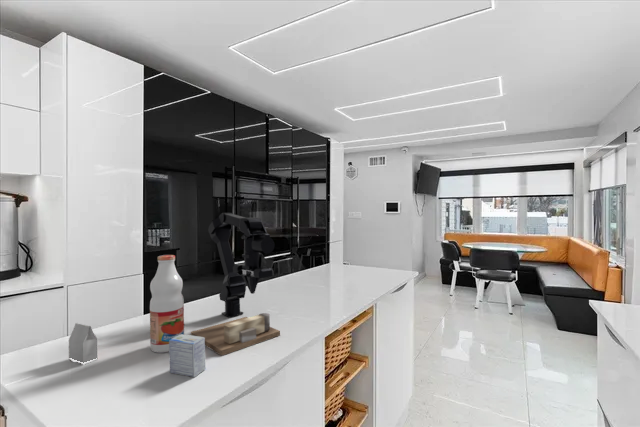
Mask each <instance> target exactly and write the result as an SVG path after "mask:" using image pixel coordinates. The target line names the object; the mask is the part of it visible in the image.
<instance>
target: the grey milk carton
mask: <svg viewBox="0 0 640 427" xmlns="http://www.w3.org/2000/svg"><path fill="white" fill-rule="evenodd" d="M69 358H72V359H74V360H77V361H80V362H83V363H84V362H87V361H90V360H93V359H96V358H97V359H98V338H97V336H96V335H95V332H94V331H93V329H92V327H91V325H86V324H83V323H78V322H75V324H74V327H73V330H72V332H71V334H70V336H69V338H68V359H69Z"/></svg>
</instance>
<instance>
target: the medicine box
mask: <svg viewBox="0 0 640 427" xmlns="http://www.w3.org/2000/svg"><path fill="white" fill-rule="evenodd" d="M168 354H169V373H170V374H176V375H180V376H187V377H192V378H196V377H197V376H198V375H200V374H201V373H202V372H204V371H205V370H206V346H205V338H204V337H199V336H192V335H191V334H185V333H184V334H181V335H178V336H176V337H174V338H172V339H171V340H169V352H168Z"/></svg>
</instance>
